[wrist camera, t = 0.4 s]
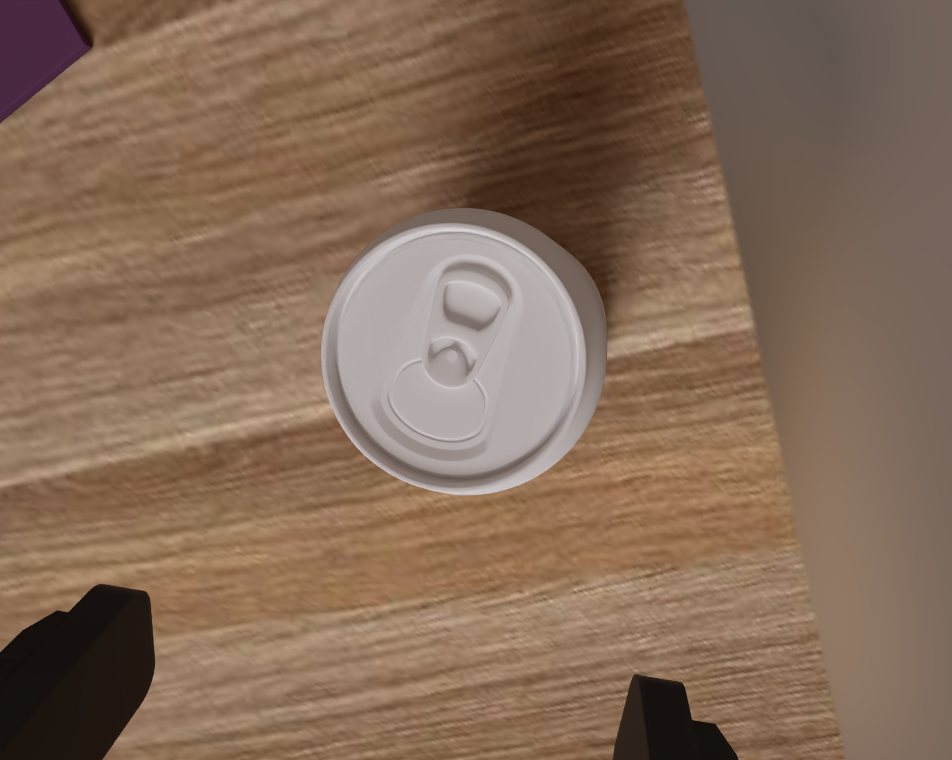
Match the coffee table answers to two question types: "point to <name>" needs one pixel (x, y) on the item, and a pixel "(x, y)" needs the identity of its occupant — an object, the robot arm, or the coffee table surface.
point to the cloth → (35, 48)
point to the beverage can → (464, 351)
